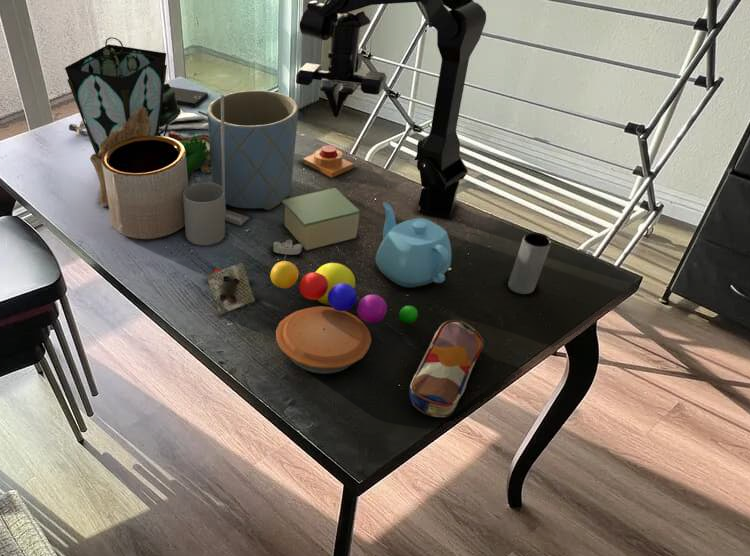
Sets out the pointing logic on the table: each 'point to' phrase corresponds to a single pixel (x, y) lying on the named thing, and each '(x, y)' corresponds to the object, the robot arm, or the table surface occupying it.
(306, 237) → the cream storage box
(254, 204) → the planter
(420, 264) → the teapot
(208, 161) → the decorative book
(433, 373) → the pencil case
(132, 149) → the planter
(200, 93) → the cell phone
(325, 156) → the button
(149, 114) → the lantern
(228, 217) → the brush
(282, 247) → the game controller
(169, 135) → the denture
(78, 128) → the person figure
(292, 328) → the pie
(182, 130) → the feather
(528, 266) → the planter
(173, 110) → the headphones
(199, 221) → the cup
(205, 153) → the toy
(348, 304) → the spheres
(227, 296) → the tan textured box
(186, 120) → the cloth
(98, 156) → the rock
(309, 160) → the button housing
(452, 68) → the robot arm
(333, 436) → the table surface
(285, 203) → the lid
